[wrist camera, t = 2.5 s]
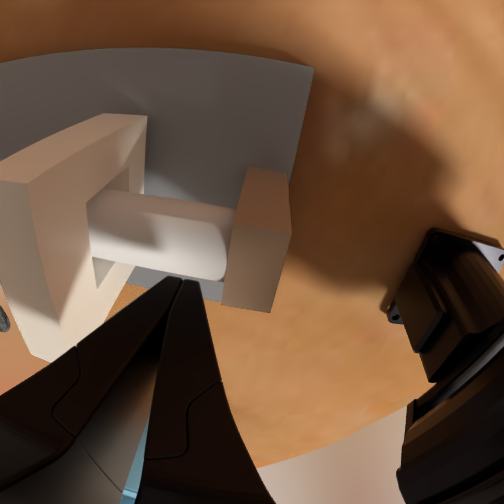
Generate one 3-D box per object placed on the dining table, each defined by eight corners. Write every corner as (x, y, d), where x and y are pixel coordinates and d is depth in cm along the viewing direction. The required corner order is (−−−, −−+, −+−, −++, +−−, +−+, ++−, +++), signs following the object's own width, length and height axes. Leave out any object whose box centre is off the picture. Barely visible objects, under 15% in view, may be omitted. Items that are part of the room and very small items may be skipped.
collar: (147, 115, 11) (27, 183, 5) (144, 251, 15) (77, 372, 9) (103, 113, 11) (-27, 177, 5) (107, 244, 15) (31, 354, 9)
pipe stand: (311, 67, 11) (341, 68, 6) (260, 294, 18) (252, 389, 13) (-46, 76, 11) (-117, 102, 5) (-27, 232, 17) (-77, 281, 12)
